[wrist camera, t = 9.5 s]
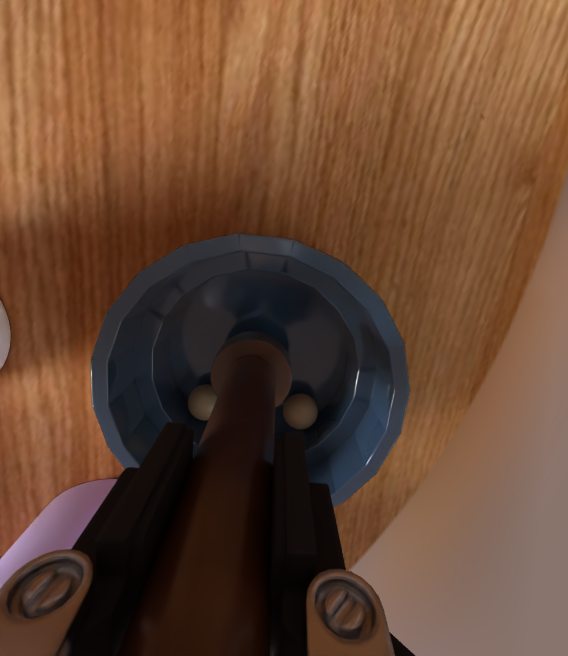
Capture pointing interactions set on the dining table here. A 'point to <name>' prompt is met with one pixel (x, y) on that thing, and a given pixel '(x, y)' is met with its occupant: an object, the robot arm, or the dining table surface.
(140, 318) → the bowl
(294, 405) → the bead
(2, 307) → the mug
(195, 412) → the bead
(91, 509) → the clip
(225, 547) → the rod
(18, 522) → the dining table surface
